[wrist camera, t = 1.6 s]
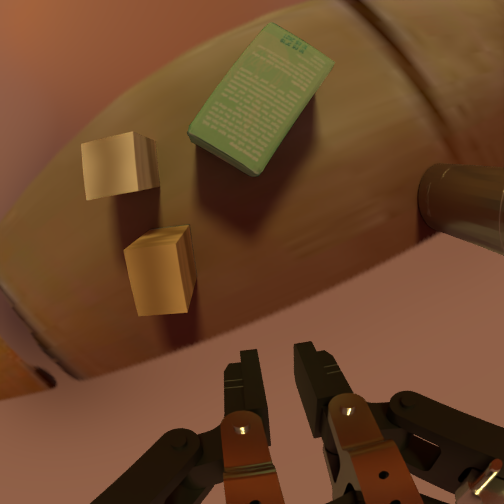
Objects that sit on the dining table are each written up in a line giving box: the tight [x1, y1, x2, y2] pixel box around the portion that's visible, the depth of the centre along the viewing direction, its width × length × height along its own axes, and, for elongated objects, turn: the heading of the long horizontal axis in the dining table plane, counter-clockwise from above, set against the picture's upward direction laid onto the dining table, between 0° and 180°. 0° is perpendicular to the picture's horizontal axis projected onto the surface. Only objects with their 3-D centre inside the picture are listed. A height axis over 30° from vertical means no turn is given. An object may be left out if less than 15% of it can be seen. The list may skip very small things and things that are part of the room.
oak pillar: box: [124, 224, 197, 316], centre depth 27 cm, size 4×6×9 cm
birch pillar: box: [81, 132, 160, 200], centre depth 25 cm, size 5×5×8 cm
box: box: [187, 22, 335, 177], centre depth 25 cm, size 7×14×8 cm, turn 148°
